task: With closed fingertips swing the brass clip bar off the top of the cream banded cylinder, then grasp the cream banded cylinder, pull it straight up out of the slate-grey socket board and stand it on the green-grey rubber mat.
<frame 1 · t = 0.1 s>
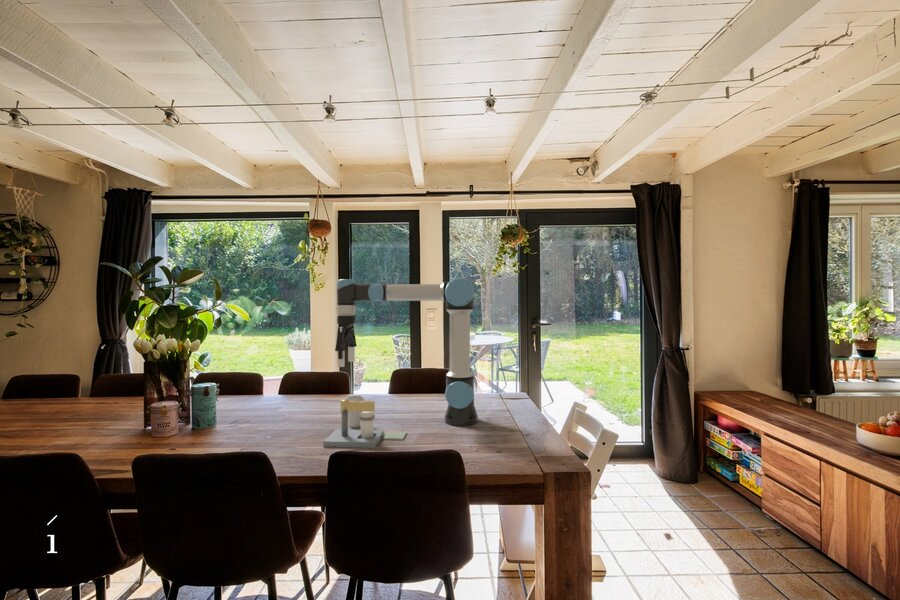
hand: (346, 364, 176), 28 cm above the table, fingers open, 13 cm apart
mat: (395, 436, 166), on the table
clip: (357, 405, 161), point 14 cm above the table, hinge at 0.0°
cup: (355, 425, 182), on the table
socket board: (354, 440, 161), on the table
cream banded cylinder: (367, 441, 161), resting in socket board
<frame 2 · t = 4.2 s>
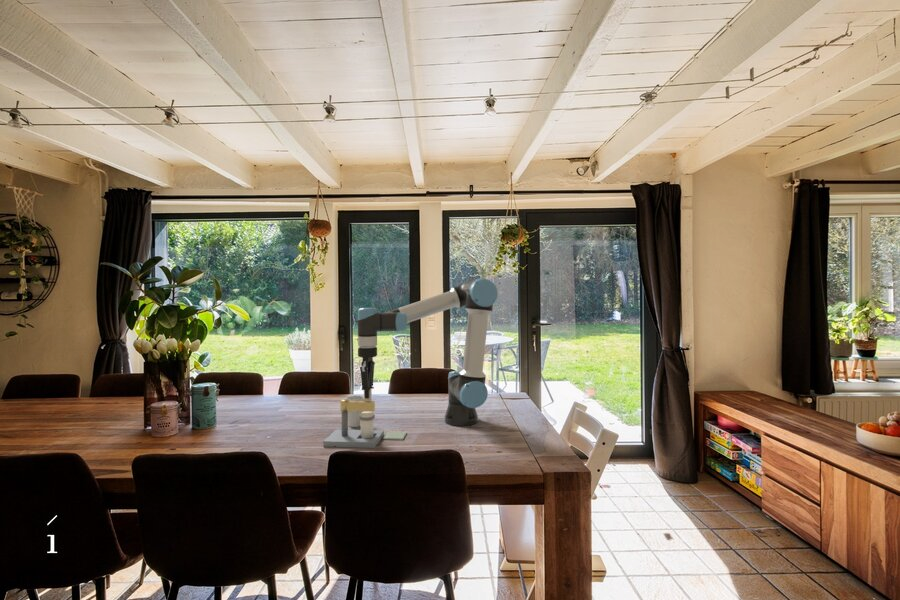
hand: (367, 405, 162), 14 cm above the table, fingers closed
clip: (357, 405, 161), point 14 cm above the table, hinge at 0.2°, touching gripper
everything else where it was.
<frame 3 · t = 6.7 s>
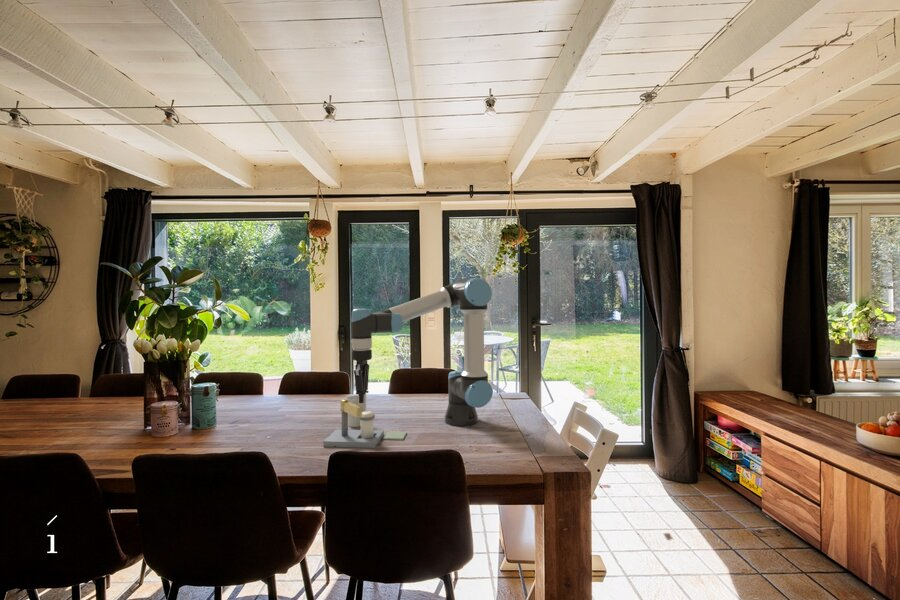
hand: (362, 410, 156), 13 cm above the table, fingers closed
clip: (350, 407, 157), point 14 cm above the table, hinge at 44.8°, touching gripper
everything else where it was.
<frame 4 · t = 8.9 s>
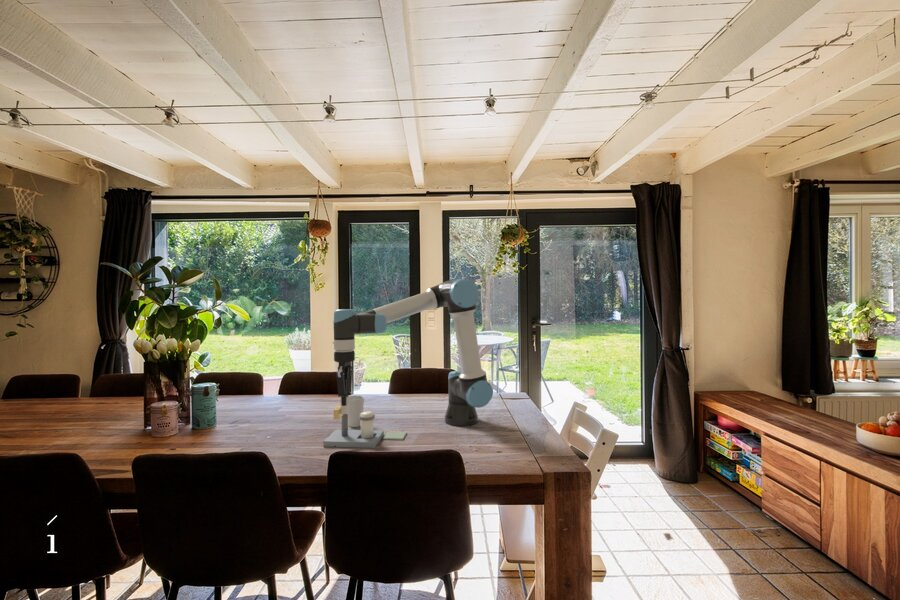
hand: (345, 413, 152), 13 cm above the table, fingers closed
clip: (341, 408, 156), point 14 cm above the table, hinge at 85.5°, touching gripper
everything else where it was.
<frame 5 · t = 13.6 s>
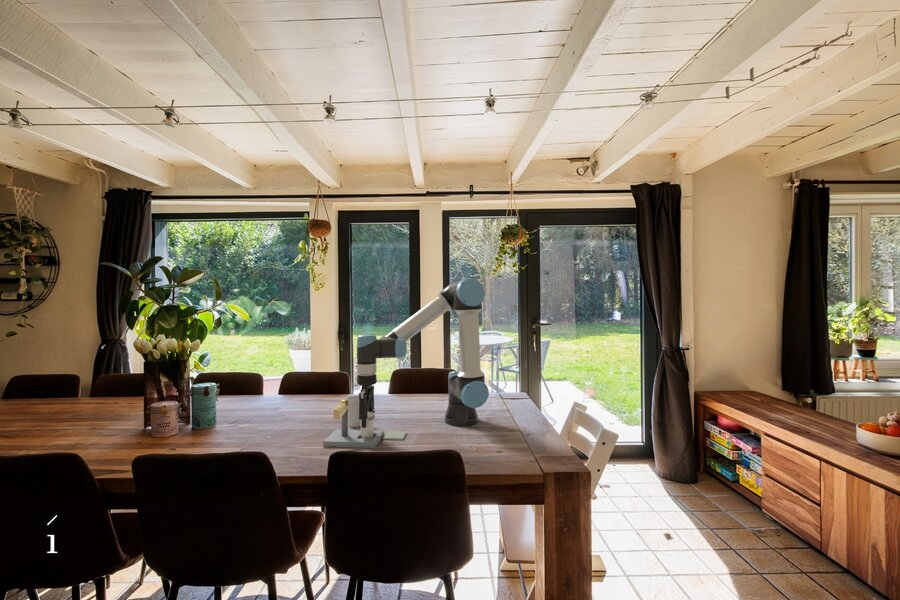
hand: (367, 432, 161), 3 cm above the table, fingers closed on cream banded cylinder, 6 cm apart
clip: (341, 408, 156), point 14 cm above the table, hinge at 85.5°
cream banded cylinder: (367, 440, 161), resting in socket board, touching gripper
everything else where it was.
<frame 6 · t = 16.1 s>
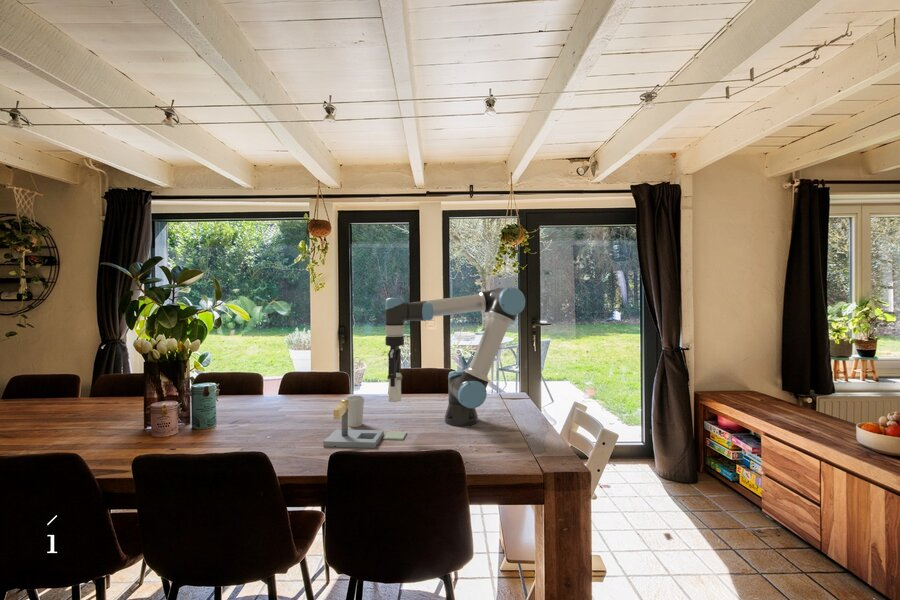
hand: (394, 392, 166), 18 cm above the table, fingers closed on cream banded cylinder, 6 cm apart
cream banded cylinder: (394, 400, 166), point 15 cm above the table, touching gripper
everything else where it was.
when the fingers open (5 cm above the table, at t = 18.6 s): cream banded cylinder drops 1 cm, resting on mat.
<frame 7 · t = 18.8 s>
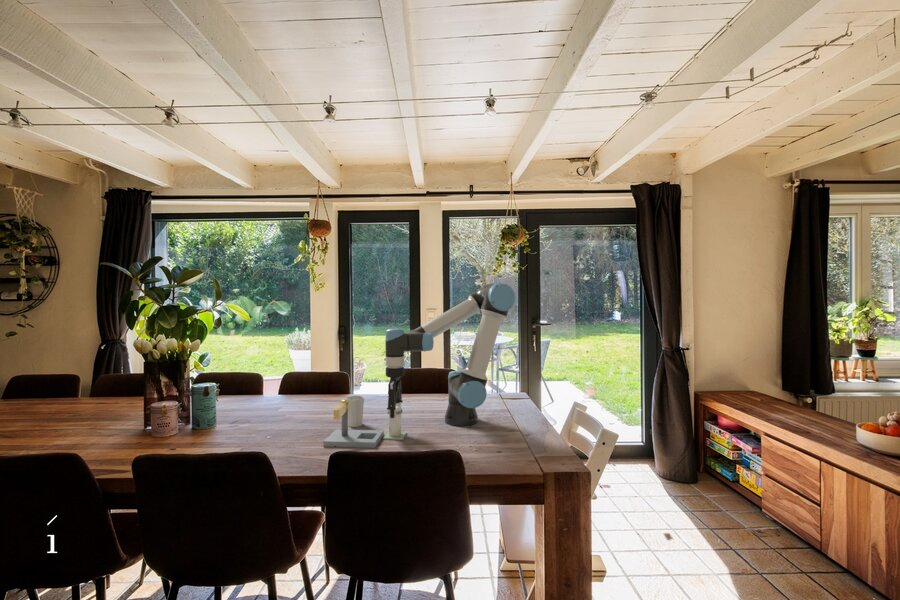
hand: (395, 422, 166), 6 cm above the table, fingers open, 8 cm apart
cream banded cylinder: (395, 434, 166), point 1 cm above the table, touching mat
everything else where it was.
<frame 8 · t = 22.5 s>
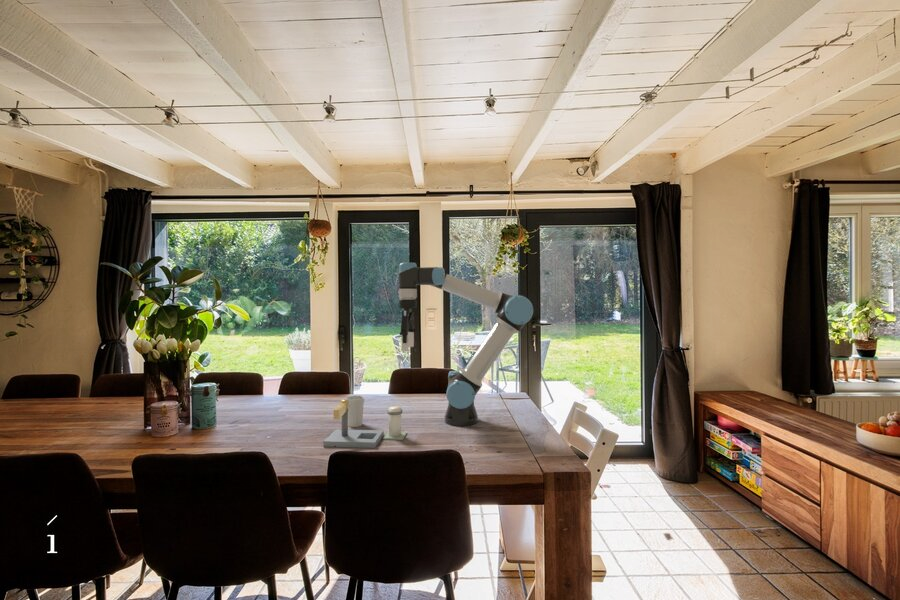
hand: (408, 348, 174), 35 cm above the table, fingers open, 13 cm apart
nothing on the table moved.
at the end: clip at +86° (first picture: +0°); cream banded cylinder inside the target area on the mat (0.1 cm from its centre), point 0.6 cm above the mat's base; cream banded cylinder tilted 0° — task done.
